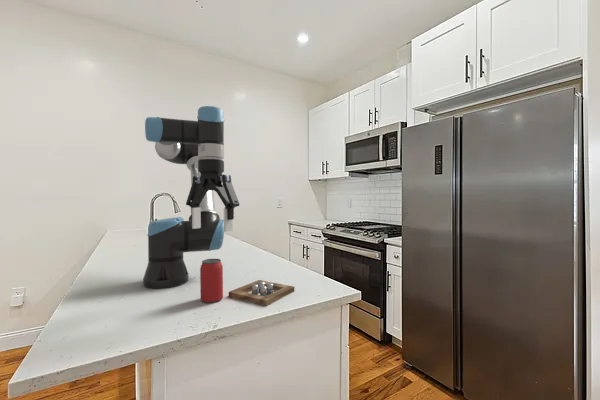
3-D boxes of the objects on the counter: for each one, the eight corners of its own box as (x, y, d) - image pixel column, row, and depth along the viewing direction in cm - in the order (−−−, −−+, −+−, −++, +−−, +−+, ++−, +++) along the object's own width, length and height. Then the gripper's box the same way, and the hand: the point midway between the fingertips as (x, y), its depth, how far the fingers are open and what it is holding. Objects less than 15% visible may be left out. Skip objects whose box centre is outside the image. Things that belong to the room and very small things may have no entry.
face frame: (228, 296, 93) (228, 291, 93) (258, 284, 106) (258, 279, 106) (266, 305, 85) (266, 300, 85) (294, 291, 98) (294, 286, 98)
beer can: (216, 304, 86) (216, 263, 86) (196, 302, 88) (195, 262, 87) (226, 296, 93) (226, 258, 92) (207, 295, 94) (207, 257, 94)
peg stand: (250, 294, 94) (250, 285, 94) (261, 290, 99) (261, 281, 99) (263, 297, 92) (263, 288, 92) (274, 292, 96) (274, 283, 96)
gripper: (173, 160, 92) (174, 228, 93) (233, 155, 80) (233, 233, 80) (193, 162, 99) (194, 226, 99) (251, 158, 86) (251, 230, 87)
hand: (211, 229), depth 90 cm, fingers open, 13 cm apart
